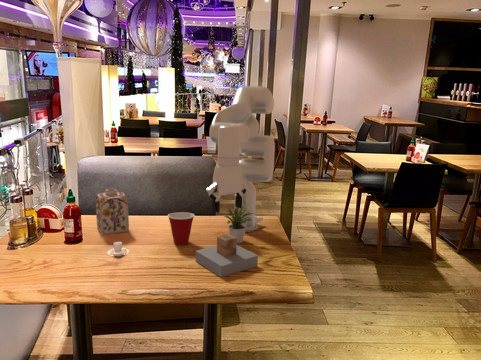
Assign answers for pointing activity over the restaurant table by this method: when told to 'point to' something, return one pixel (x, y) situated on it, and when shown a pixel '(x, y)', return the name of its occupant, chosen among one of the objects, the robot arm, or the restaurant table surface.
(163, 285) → the restaurant table surface
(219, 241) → the walnut block
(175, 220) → the plastic cup
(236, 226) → the house plant
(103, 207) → the decorative jar
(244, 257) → the grey square slab
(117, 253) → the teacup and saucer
